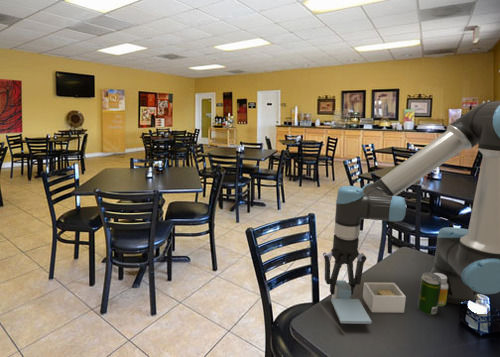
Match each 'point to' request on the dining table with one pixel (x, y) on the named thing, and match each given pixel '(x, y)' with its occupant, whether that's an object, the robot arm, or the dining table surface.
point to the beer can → (429, 293)
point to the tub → (384, 298)
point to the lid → (349, 306)
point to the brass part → (385, 292)
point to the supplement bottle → (443, 289)
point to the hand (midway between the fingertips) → (340, 302)
